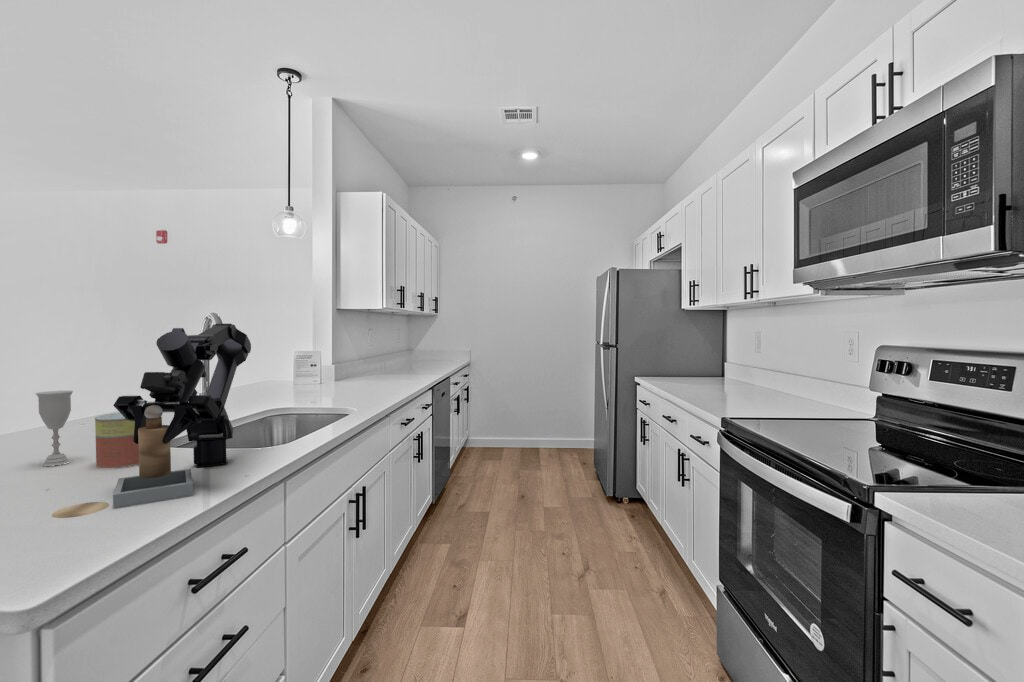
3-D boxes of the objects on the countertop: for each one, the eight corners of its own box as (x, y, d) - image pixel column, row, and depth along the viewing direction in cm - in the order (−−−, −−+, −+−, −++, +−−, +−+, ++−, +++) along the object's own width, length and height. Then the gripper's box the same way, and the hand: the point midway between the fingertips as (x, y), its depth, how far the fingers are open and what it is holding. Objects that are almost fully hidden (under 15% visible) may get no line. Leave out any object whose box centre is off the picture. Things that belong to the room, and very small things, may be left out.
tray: (190, 482, 109) (190, 468, 109) (192, 498, 99) (192, 483, 99) (119, 493, 102) (118, 478, 102) (113, 511, 92) (112, 494, 92)
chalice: (81, 461, 127) (79, 391, 126) (49, 469, 120) (47, 394, 120) (63, 459, 129) (61, 390, 129) (30, 466, 123) (28, 393, 122)
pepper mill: (168, 468, 105) (166, 402, 104) (173, 474, 101) (171, 405, 100) (137, 474, 101) (135, 404, 100) (141, 480, 97) (139, 408, 97)
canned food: (163, 458, 131) (162, 412, 130) (121, 470, 119) (120, 420, 119) (127, 455, 133) (126, 411, 133) (83, 467, 122) (82, 418, 121)
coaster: (111, 502, 97) (111, 499, 97) (107, 514, 91) (106, 511, 91) (56, 510, 93) (56, 507, 93) (47, 524, 86) (47, 521, 86)
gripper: (118, 357, 104) (76, 420, 93) (210, 356, 104) (179, 419, 94) (146, 389, 112) (110, 451, 101) (231, 389, 113) (204, 450, 102)
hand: (149, 442), depth 99 cm, fingers closed on pepper mill, 5 cm apart
